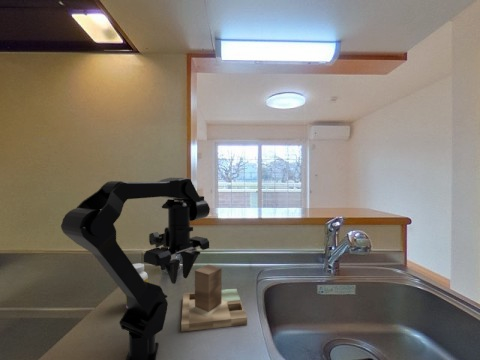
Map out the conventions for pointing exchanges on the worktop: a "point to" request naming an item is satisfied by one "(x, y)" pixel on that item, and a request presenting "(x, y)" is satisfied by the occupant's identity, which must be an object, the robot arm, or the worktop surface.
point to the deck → (213, 312)
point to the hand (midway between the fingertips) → (179, 280)
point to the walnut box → (208, 287)
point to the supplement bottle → (140, 272)
